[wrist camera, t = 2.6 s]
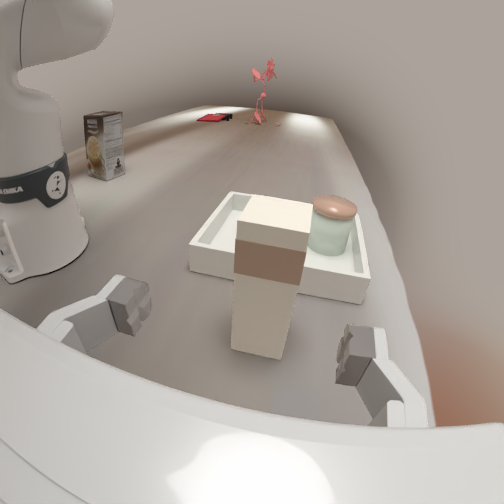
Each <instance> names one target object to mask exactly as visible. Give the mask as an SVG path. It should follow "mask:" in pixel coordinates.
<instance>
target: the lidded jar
mask: <svg viewBox="0 0 504 504" xmlns="http://www.w3.org/2000/svg"><path fill="white" fill-rule="evenodd" d="M312 204H313V210H312V218H311V227H310V234H309V239H308V247H309V248H310V249H311V250H313V251H314V252H316V253H318V254H321V255H325V256H339V255H341V254H343V253H344V252H345V249H346V245H347V241H348V238H349V234H350V230H351V226H352V222H353V218H354V217H355V216H356V212H357V207H356V205H355V204H354V203H352V202H351V201H349V200H347V199H345V198H342V197H338V196H334V195H318V196H315V197H314V198H313V202H312Z"/></svg>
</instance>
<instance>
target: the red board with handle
mask: <svg viewBox="0 0 504 504" xmlns="http://www.w3.org/2000/svg"><path fill="white" fill-rule="evenodd" d="M227 115H228V116H227ZM229 117H230V119H232V114H223V113H216V114H207V115H205V116H203V117H202V118H200V119H198V120H197V121H207V122H220V121H221V120H226V119H227V121H229Z"/></svg>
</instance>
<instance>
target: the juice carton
mask: <svg viewBox="0 0 504 504" xmlns="http://www.w3.org/2000/svg"><path fill="white" fill-rule="evenodd" d="M312 209H313V204H308V203H303V202H297V201H291V200H286V199H280V198H274V197H268V196H262V195H256V194H253V195H252V197H251V199H250V200H249V202H248V203H247V205H246V207H245V208H244V210H243V212H242V213H241V215H240V217H239V218H238V220H237V233H236V239H235V254H234V289H233V310H232V332H231V349H232V350H237V351H241V352H245V353H250V354H254V355H259V356H263V357H268V358H273V359H278V360H281V358H282V354H283V350H284V346H285V342H286V338H287V334H288V330H289V326H290V322H291V317H292V313H293V309H294V305H295V300H296V296H297V291H298V287H299V286H300V281H301V276H302V272H303V267H304V262H305V258H306V253H307V246H308V239H309V234H310V227H311V218H312Z"/></svg>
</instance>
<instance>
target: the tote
mask: <svg viewBox="0 0 504 504" xmlns="http://www.w3.org/2000/svg"><path fill="white" fill-rule="evenodd" d="M251 197H252V195H251V194H244V193H238V192H231V191H230V193H229V194H228V195H227V196H226V197H225V199H224V200H223V201H222V202H221V204H220V205H219V206H218V207H217V209H216V210H215V211H214V212H213V214H212V215H211V216H210V217H209V219H208V220H207V221H206V222H205V224H204V225H203V226H202V227H201V229H200V230H199V231H198V233H197V234H196V235H195V236H194V238H193V239H192V240H191V242H190V243H189V244H188V246H189V266H190V271H194V272H198V273H203V274H207V275H212V276H217V277H221V278H226V279H231V280H234V254H235V239H236V233H237V220H238V218H239V217H240V215H241V213H242V212H243V210H244V208H245V207H246V205H247V203H248V202H249V200H250V199H251ZM312 210H313V209H312ZM370 280H371V278H370V272H369V266H368V260H367V254H366V249H365V243H364V238H363V233H362V228H361V223H360V218H359V214H356V216H355V217H354V218H353V222H352V226H351V230H350V234H349V238H348V241H347V245H346V249H345V252H344V253H343V254H341V255H339V256H325V255H321V254H318V253H316V252H314V251H313V250H311V249H310V248H309V247H308V246H307V253H306V258H305V262H304V267H303V272H302V276H301V281H300V286H299V287H298V291H297V293H301V294H306V295H311V296H317V297H322V298H327V299H333V300H338V301H344V302H350V303H355V304H361V303H362V300H363V298H364V295H365V293H366V290H367V287H368V285H369V282H370Z"/></svg>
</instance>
